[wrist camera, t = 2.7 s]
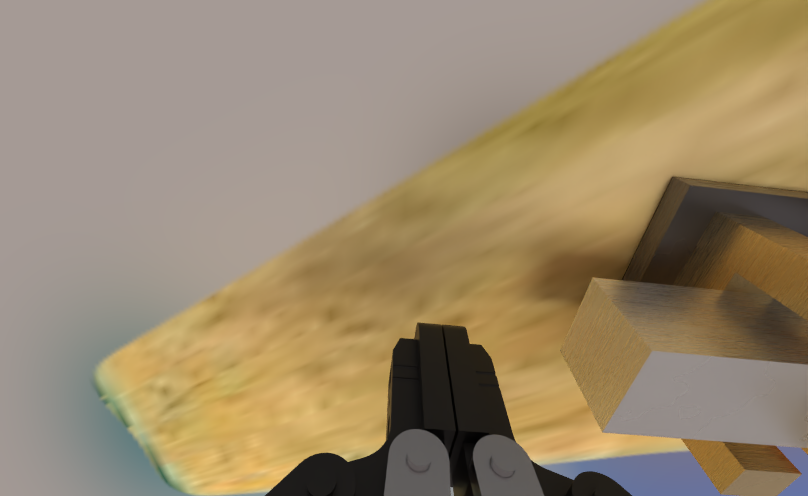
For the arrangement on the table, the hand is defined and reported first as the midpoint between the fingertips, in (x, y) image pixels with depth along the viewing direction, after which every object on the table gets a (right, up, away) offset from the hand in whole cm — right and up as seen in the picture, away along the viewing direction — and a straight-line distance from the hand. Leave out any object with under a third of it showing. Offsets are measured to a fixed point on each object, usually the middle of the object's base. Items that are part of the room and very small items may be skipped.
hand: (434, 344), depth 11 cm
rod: (+16, -1, +3) cm, 16 cm away
